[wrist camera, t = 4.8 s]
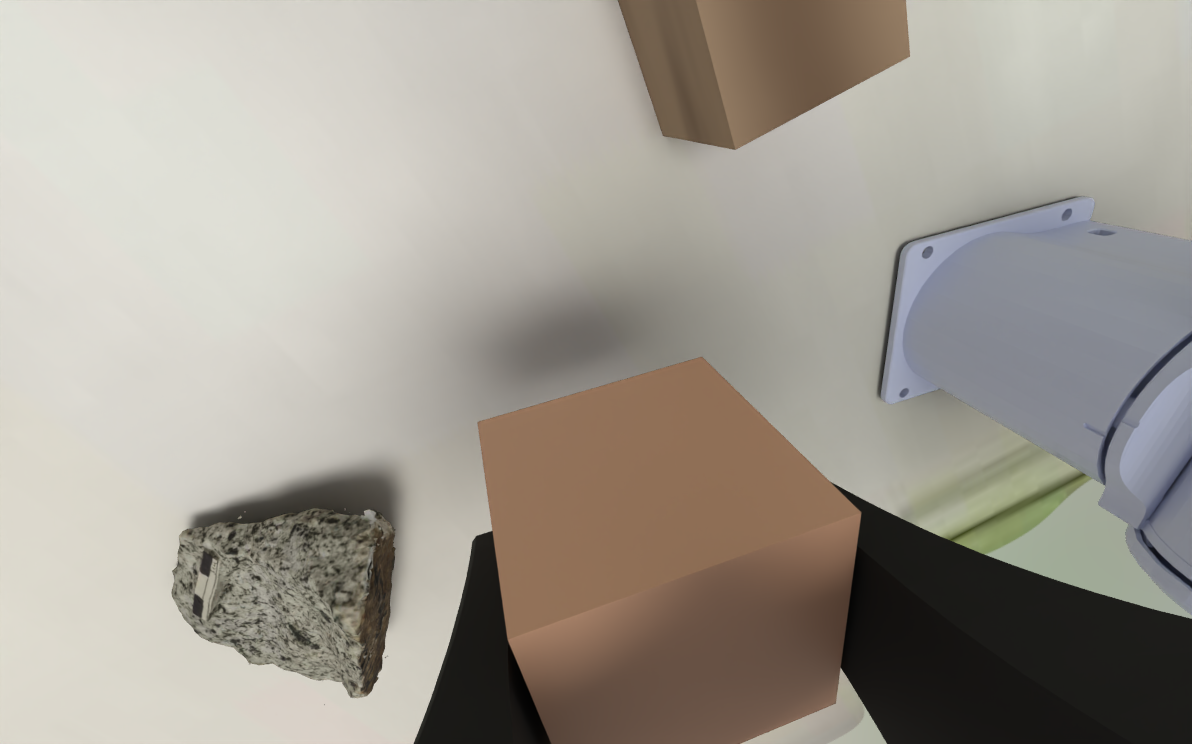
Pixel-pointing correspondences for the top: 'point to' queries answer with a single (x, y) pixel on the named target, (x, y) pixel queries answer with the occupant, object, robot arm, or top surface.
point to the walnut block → (757, 59)
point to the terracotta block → (667, 562)
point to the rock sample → (293, 592)
